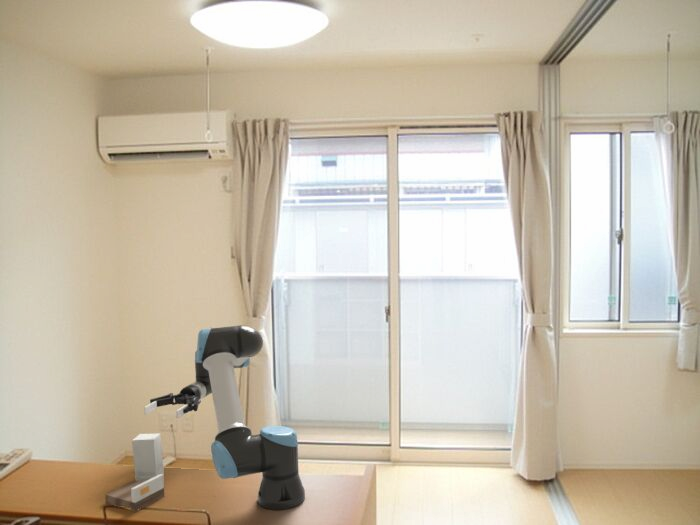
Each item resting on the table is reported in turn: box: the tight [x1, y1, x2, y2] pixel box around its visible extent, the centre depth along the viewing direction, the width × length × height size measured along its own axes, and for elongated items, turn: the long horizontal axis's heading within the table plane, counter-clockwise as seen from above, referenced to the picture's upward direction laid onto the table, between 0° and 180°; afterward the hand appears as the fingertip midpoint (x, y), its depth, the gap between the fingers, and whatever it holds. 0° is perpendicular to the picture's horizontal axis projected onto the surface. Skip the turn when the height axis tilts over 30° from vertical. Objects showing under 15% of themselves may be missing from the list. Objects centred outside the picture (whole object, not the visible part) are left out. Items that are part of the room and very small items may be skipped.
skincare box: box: [131, 433, 165, 482], centre depth 209 cm, size 8×7×16 cm
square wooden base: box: [104, 474, 165, 513], centre depth 193 cm, size 14×12×7 cm
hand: (161, 412), depth 215 cm, fingers open, 13 cm apart
